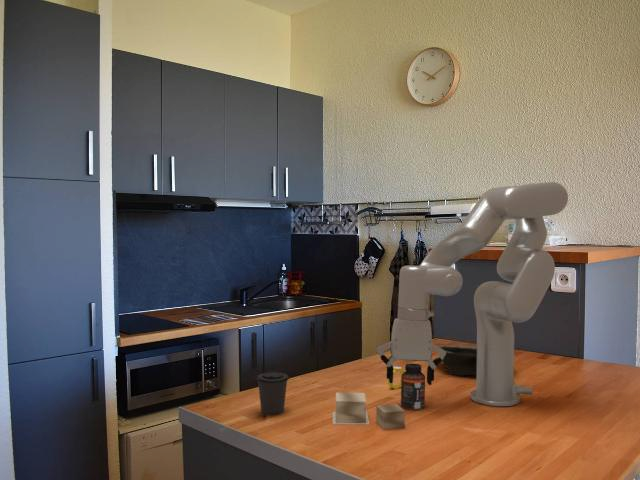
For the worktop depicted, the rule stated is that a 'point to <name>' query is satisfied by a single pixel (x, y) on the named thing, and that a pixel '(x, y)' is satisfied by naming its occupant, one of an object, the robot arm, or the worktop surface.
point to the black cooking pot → (460, 359)
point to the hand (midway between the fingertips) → (409, 382)
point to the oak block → (390, 416)
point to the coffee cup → (272, 392)
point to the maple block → (350, 408)
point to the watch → (393, 374)
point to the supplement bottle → (413, 388)
